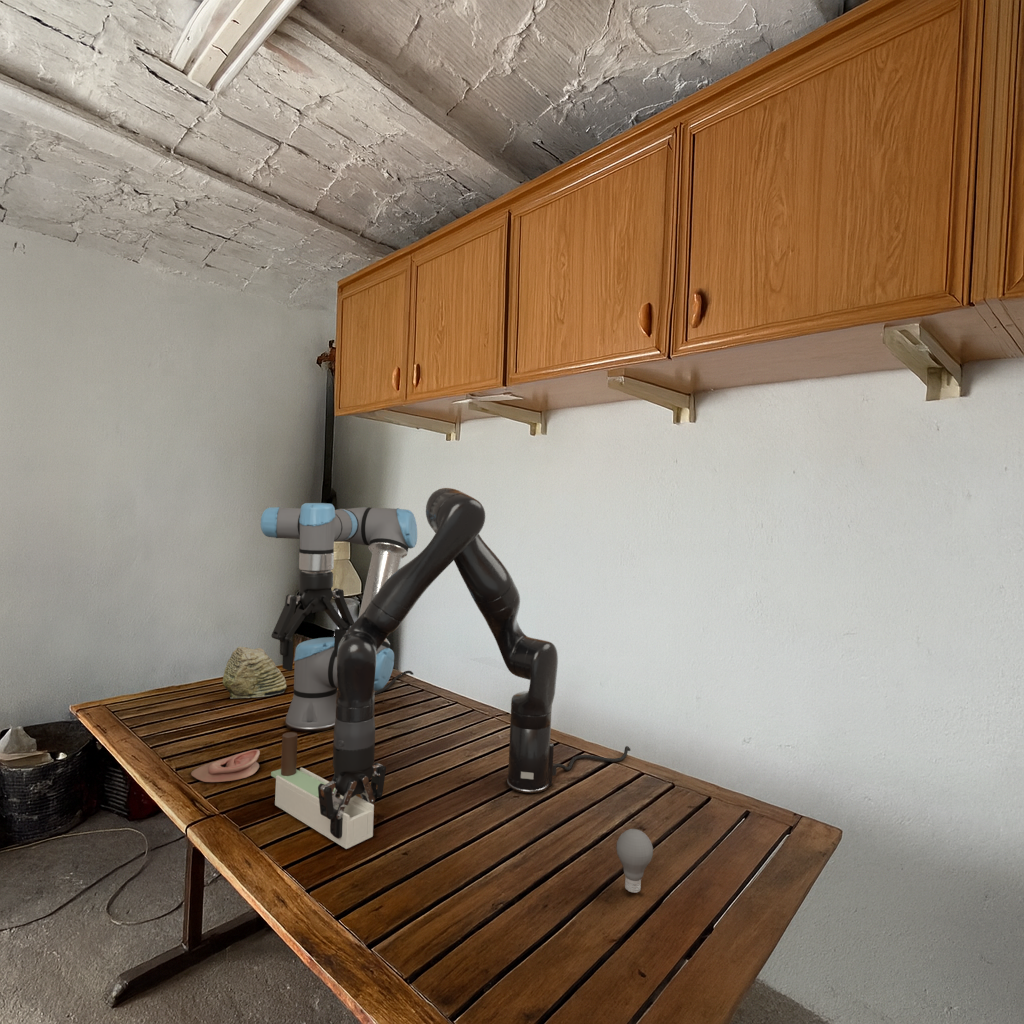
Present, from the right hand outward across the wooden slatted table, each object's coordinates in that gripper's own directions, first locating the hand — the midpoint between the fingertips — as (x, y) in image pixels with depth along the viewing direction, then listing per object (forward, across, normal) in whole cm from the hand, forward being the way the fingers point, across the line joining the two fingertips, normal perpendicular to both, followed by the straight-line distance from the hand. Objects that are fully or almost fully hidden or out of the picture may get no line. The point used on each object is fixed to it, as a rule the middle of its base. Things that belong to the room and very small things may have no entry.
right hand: (351, 829), depth 118 cm
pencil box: (+2, 0, -10) cm, 10 cm away
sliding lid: (-3, 0, -16) cm, 17 cm away
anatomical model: (+1, +3, -43) cm, 43 cm away
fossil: (+1, -30, -90) cm, 95 cm away
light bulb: (+2, -22, +47) cm, 52 cm away
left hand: (-24, -11, -30) cm, 40 cm away
